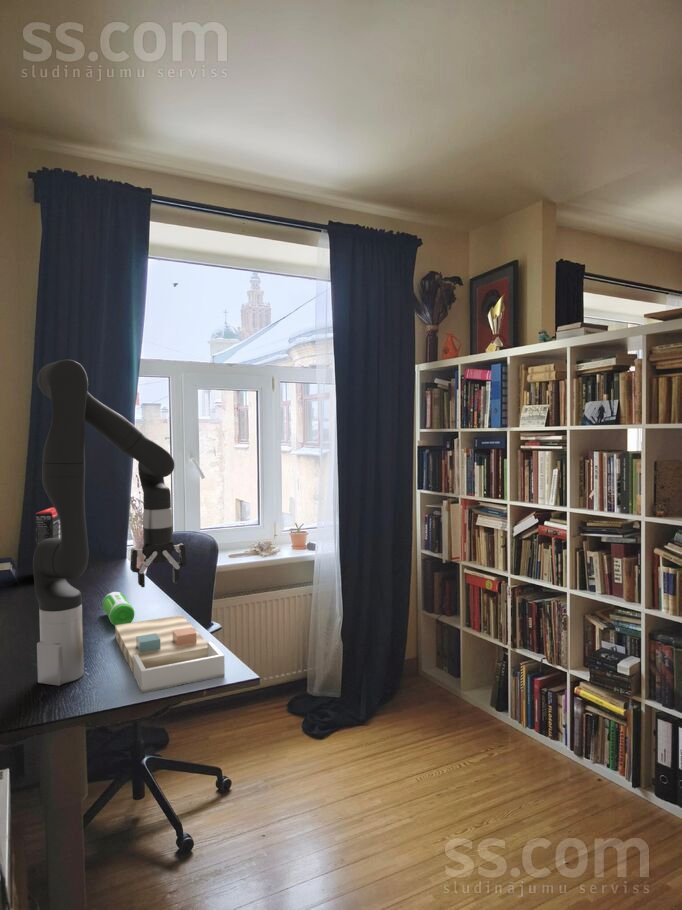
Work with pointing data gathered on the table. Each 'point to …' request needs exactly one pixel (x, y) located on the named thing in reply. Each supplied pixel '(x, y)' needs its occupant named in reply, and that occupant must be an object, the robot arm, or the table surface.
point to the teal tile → (148, 642)
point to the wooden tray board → (168, 650)
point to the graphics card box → (47, 525)
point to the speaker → (118, 608)
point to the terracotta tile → (184, 636)
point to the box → (180, 671)
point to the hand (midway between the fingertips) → (159, 584)
